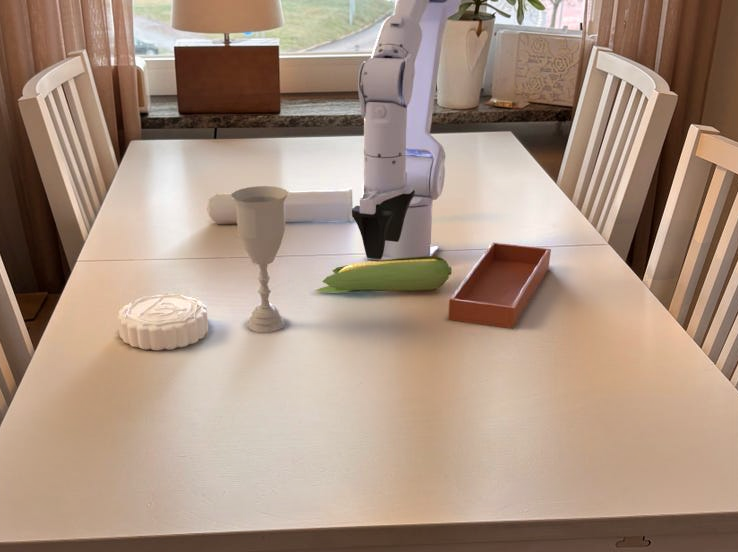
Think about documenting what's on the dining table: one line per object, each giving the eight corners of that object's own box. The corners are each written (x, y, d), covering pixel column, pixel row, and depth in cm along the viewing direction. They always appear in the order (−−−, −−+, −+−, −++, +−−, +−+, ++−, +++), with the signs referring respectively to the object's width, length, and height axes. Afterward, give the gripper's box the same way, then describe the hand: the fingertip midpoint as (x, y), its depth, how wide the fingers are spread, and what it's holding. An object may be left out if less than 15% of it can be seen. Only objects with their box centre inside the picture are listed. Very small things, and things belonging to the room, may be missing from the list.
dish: (448, 319, 142) (449, 299, 140) (491, 261, 161) (492, 242, 159) (512, 328, 139) (514, 308, 138) (548, 268, 158) (550, 248, 156)
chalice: (252, 339, 138) (244, 205, 128) (231, 321, 143) (222, 191, 133) (301, 328, 141) (297, 196, 131) (279, 311, 146) (274, 183, 136)
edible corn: (453, 294, 150) (454, 264, 147) (315, 300, 149) (315, 270, 146) (446, 281, 154) (448, 251, 152) (313, 287, 153) (312, 257, 150)
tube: (204, 205, 174) (352, 201, 173) (206, 186, 177) (351, 182, 177) (207, 231, 178) (352, 227, 178) (209, 212, 181) (351, 208, 181)
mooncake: (184, 356, 134) (181, 331, 132) (103, 344, 137) (99, 319, 135) (223, 320, 143) (221, 296, 141) (146, 310, 147) (143, 286, 145)
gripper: (396, 169, 134) (393, 269, 141) (428, 141, 145) (424, 236, 152) (345, 164, 136) (345, 263, 143) (381, 137, 147) (379, 231, 154)
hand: (383, 249), depth 148 cm, fingers open, 7 cm apart
